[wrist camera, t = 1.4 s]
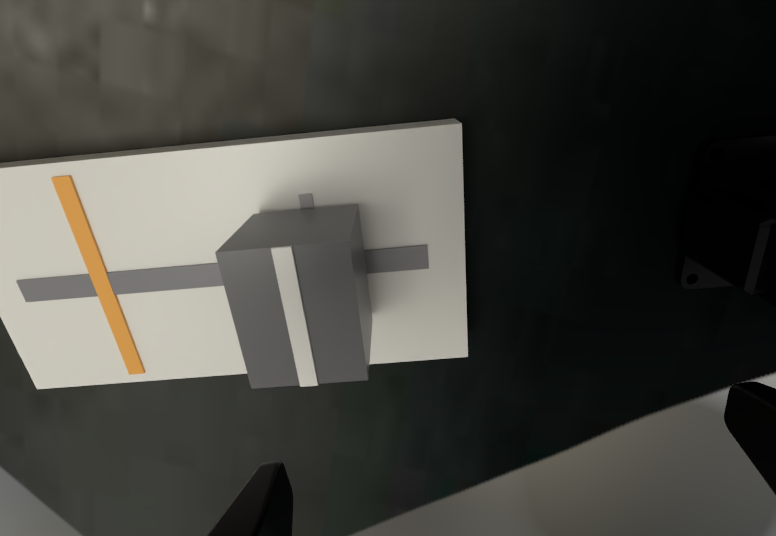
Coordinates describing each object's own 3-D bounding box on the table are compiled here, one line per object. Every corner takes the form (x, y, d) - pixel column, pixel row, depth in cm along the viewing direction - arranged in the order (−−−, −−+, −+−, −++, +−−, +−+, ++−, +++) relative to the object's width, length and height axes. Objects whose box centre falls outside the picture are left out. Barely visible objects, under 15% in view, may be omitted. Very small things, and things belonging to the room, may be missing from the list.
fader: (358, 204, 17) (349, 241, 13) (372, 319, 19) (367, 382, 15) (253, 213, 17) (213, 253, 13) (278, 327, 19) (250, 390, 15)
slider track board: (454, 118, 18) (462, 123, 16) (461, 332, 22) (468, 358, 20) (-26, 165, 18) (-75, 175, 17) (65, 363, 22) (35, 390, 20)
